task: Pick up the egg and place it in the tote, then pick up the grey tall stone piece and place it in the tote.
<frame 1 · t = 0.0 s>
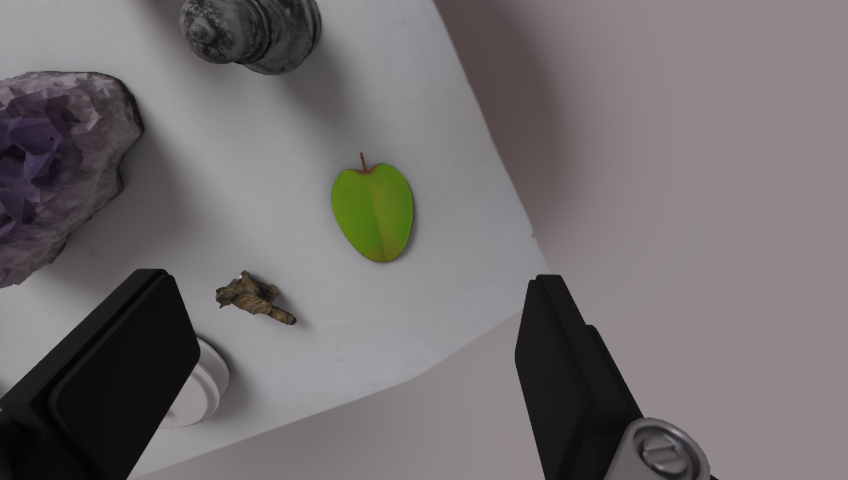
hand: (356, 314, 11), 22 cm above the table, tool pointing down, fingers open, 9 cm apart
decorative leaf: (378, 208, 34), on the table
geode: (48, 156, 32), on the table
lid: (173, 360, 44), on the table
cat figurine: (268, 289, 39), on the table
grey tall stone piece: (281, 19, 27), on the table
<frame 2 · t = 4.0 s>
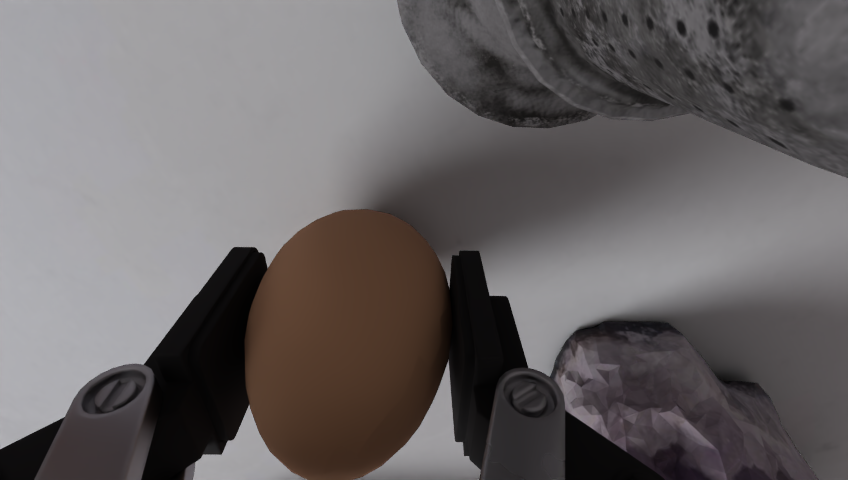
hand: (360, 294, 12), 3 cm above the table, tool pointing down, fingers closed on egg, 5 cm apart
egg: (371, 239, 14), on the table, touching gripper
geode: (653, 442, 21), on the table
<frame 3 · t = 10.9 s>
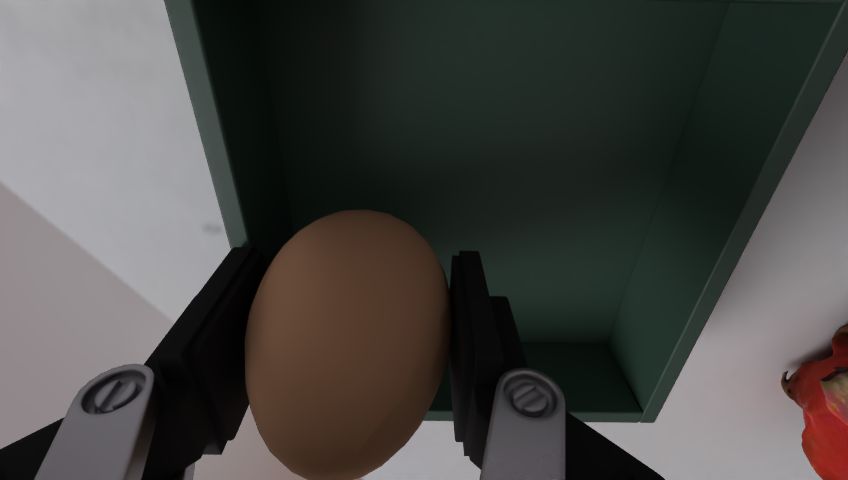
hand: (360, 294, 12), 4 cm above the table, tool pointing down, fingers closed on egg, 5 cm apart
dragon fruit: (846, 356, 19), on the table
egg: (371, 239, 14), point 1 cm above the table, touching gripper
tote: (471, 202, 15), on the table
when the fingers open (5 cm above the table, at t = 16.6 s): egg drops 1 cm, resting on tote.
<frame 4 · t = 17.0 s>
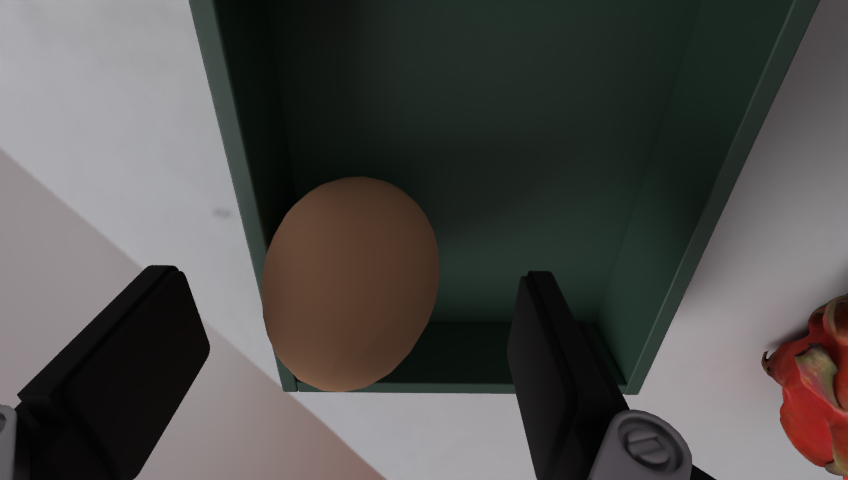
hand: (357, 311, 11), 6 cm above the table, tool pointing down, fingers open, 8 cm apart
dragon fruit: (824, 337, 20), on the table
egg: (369, 209, 16), resting on tote
tote: (465, 187, 16), on the table
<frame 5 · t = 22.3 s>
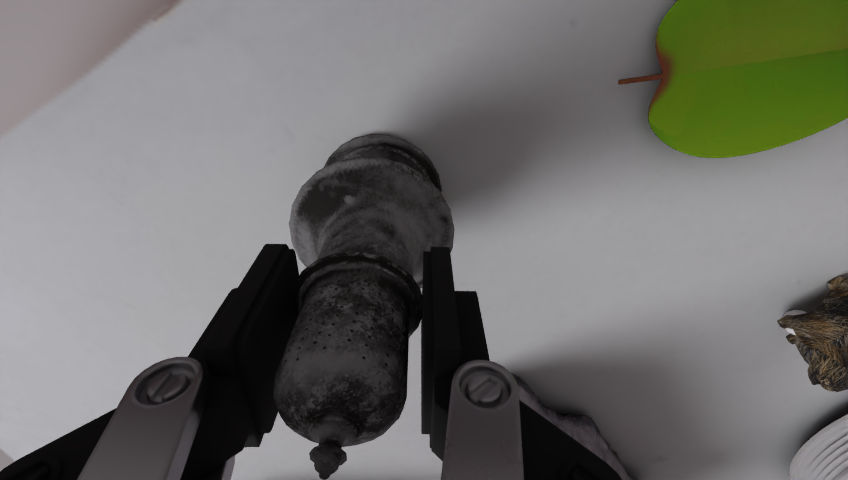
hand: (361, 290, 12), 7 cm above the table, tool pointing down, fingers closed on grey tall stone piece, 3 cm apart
decorative leaf: (759, 50, 15), on the table
geode: (532, 455, 28), on the table
cat figurine: (831, 289, 21), on the table
grey tall stone piece: (381, 192, 18), on the table, touching gripper
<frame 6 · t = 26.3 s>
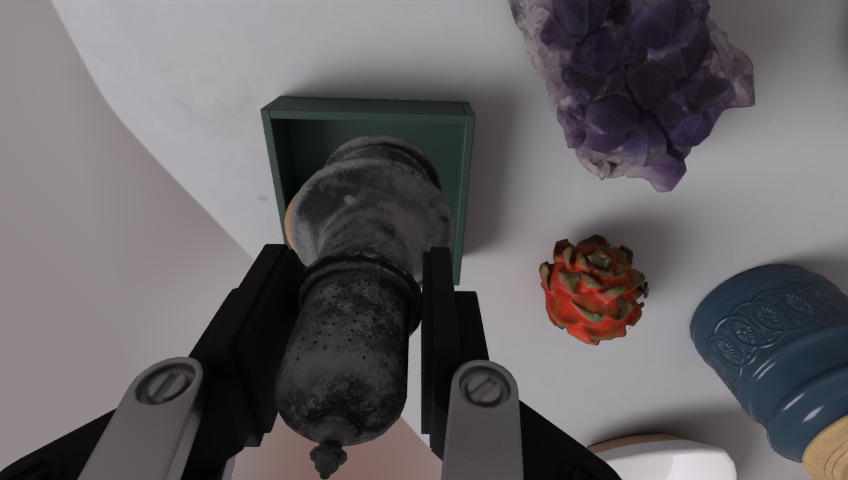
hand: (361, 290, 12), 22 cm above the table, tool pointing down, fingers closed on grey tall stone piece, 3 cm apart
bowl: (626, 460, 55), on the table
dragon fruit: (579, 268, 38), on the table
geode: (588, 30, 28), on the table
canister: (751, 311, 41), on the table
tote: (377, 186, 34), on the table
grey tall stone piece: (381, 192, 18), point 15 cm above the table, touching gripper
when the fingers open (7 cm above the table, at t = 30.1 s): grey tall stone piece stays where it is, resting on tote.
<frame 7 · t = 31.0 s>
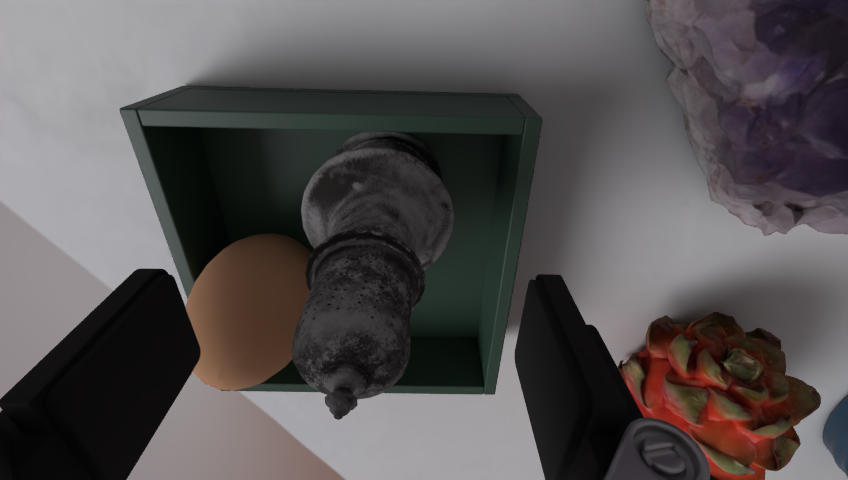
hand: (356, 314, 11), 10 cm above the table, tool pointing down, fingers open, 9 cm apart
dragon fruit: (671, 349, 25), on the table
egg: (287, 251, 21), resting on tote
tote: (360, 234, 21), on the table
grey tall stone piece: (385, 183, 19), resting on tote
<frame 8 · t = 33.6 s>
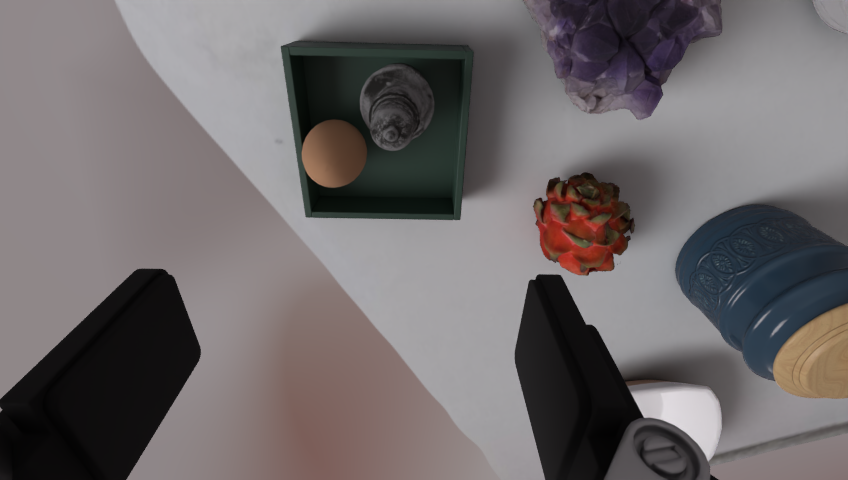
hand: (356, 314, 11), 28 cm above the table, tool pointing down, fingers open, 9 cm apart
bowl: (619, 408, 58), on the table
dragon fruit: (571, 210, 41), on the table
egg: (343, 138, 37), resting on tote
canister: (731, 253, 44), on the table
tote: (384, 129, 36), on the table
grey tall stone piece: (399, 95, 35), resting on tote
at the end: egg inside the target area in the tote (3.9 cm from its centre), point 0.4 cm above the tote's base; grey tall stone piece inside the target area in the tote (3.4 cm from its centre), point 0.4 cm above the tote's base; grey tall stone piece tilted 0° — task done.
